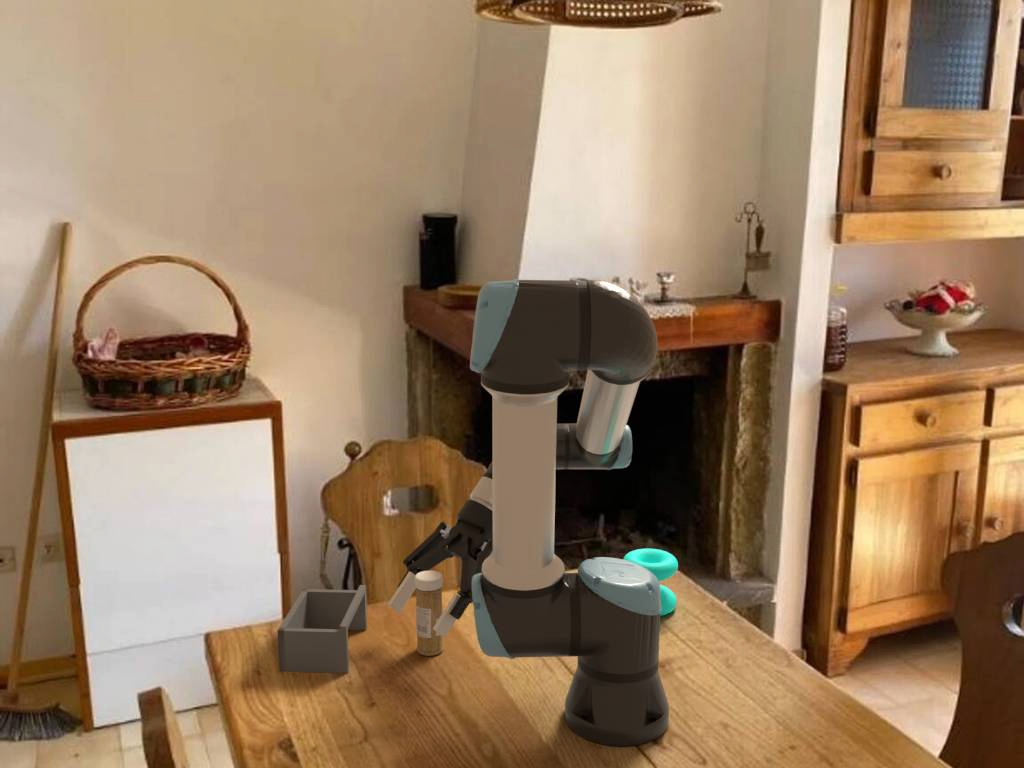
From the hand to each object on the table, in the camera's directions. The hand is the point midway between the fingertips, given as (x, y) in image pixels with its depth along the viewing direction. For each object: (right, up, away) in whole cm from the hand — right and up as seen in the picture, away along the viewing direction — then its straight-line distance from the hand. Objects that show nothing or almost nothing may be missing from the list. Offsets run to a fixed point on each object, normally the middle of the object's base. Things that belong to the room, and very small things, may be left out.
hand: (415, 620), depth 161 cm
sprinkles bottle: (+2, -6, +3) cm, 7 cm away
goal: (-16, -6, +4) cm, 17 cm away
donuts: (+41, -3, +20) cm, 46 cm away
